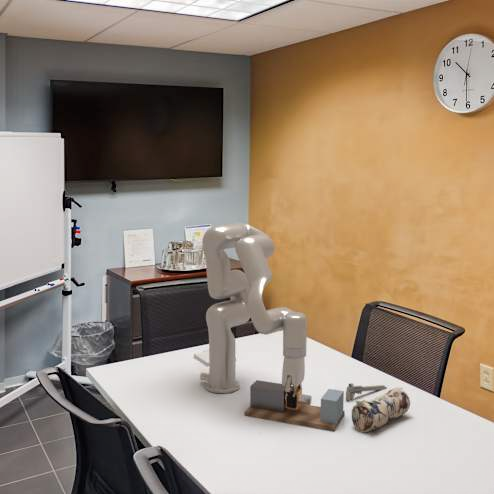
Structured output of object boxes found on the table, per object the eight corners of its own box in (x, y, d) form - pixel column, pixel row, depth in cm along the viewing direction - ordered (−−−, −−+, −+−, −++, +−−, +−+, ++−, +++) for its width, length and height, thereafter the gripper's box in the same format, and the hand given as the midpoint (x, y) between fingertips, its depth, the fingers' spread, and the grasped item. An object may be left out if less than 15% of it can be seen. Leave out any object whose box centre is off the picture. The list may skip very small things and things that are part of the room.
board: (244, 415, 204) (244, 411, 204) (259, 401, 216) (259, 396, 215) (334, 431, 192) (334, 426, 192) (344, 415, 204) (344, 410, 204)
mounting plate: (239, 364, 254) (239, 359, 254) (210, 369, 248) (210, 364, 248) (218, 351, 270) (218, 347, 270) (191, 356, 263) (191, 352, 263)
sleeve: (250, 407, 207) (250, 386, 206) (256, 400, 212) (256, 380, 211) (283, 413, 202) (283, 391, 201) (289, 406, 208) (289, 385, 206)
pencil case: (371, 437, 189) (372, 406, 187) (349, 428, 195) (349, 398, 193) (411, 416, 203) (412, 388, 202) (389, 409, 210) (390, 381, 208)
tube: (254, 402, 207) (254, 385, 206) (259, 398, 211) (259, 381, 210) (308, 411, 200) (308, 393, 199) (312, 406, 204) (312, 389, 203)
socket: (320, 421, 196) (320, 398, 195) (328, 410, 204) (328, 388, 203) (336, 424, 194) (336, 401, 193) (343, 413, 202) (343, 391, 201)
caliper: (347, 402, 215) (348, 385, 214) (345, 401, 216) (346, 384, 215) (387, 388, 228) (387, 372, 227) (384, 387, 229) (385, 371, 228)
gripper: (291, 342, 210) (291, 393, 213) (274, 357, 195) (274, 412, 197) (313, 344, 207) (312, 397, 210) (297, 360, 192) (296, 416, 195)
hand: (293, 404), depth 204 cm, fingers closed on tube, 4 cm apart
